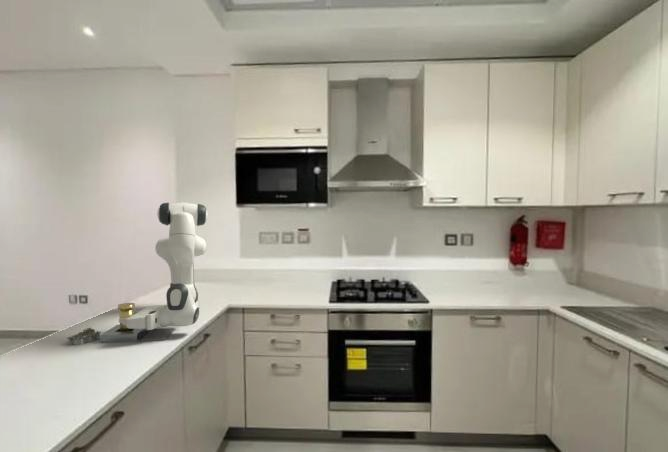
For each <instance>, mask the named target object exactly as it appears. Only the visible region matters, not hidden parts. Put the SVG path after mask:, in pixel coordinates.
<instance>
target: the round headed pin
mask: <svg viewBox="0 0 668 452" xmlns="http://www.w3.org/2000/svg"><path fill="white" fill-rule="evenodd" d="M135 305H136V304H135V302H124V303H123V302H122V303H120V304H118V305H117V309H118V310H119V319H120V318H129V317H131V316H133V312H134V308H135V307H136V306H135ZM119 325H120V332H126V331H133V330H134V329H129V328H126V323H119Z"/></svg>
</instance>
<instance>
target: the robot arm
mask: <svg viewBox="0 0 668 452" xmlns="http://www.w3.org/2000/svg"><path fill="white" fill-rule="evenodd" d="M156 214H157V215H156V216H157V218H158V220H159V223H161V225H165V226H169V230H168V237H164V238H161V239H160V238H159V239H158V240H157V242H156V243H155V249H154V250H155V252H156V255H158V257H160V258H161V259H162V260H164V261H165V262H166V263H167V265H168V267H169V270H170V285H169V288H168V289H167V290H166V305H155V306H149V307H147V306H146V307H144V308H142V309H141V310H137V311H133V316H131V317H129V318H120V317H119V319H118V322H119V324H120V323H126V328H129V329H145V328H147V330H151V331H152V330H154V329H160V328H168V327H174V328H177V327H178V328H179V327H189V326H192V325H194V324H195V323H196V322H197V321H198V319H199V315H200V308H201V306H202V300H201V299H199V293H198V290H197V288H196V286H195V266H194V265H195V264H194V261H195V260H194V259H195V258H196V257H199V256H202V255H204V254H205V253H206V251H207V247H208V246H207V245H208V244H207V243H206V241H205V239H204V238H203V237H200V236H199V235H197V233H196V226H197V227H199V226H204V225H205V224H206V222H207V221H208V218H209V217H208V216H209V214H208V210H207V207H206V206H205V205H203V204H201V203H191V202H185V201H181V202H163V203H161V204H160V205H159V207H158V209H157V213H156Z"/></svg>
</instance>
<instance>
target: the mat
mask: <svg viewBox="0 0 668 452" xmlns="http://www.w3.org/2000/svg"><path fill="white" fill-rule="evenodd" d="M174 331H176V327H174V328H172V327H171V328H155V329H152V330H151V331H149V332H148V333H147V334H146V335H144V336H143V337H142V338H141V339H140V342H152V341H155V342H156V341H165V340H167V338H168V337H169V336H170V335H171V334H173V333H174Z"/></svg>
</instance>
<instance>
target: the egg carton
mask: <svg viewBox="0 0 668 452" xmlns="http://www.w3.org/2000/svg"><path fill="white" fill-rule="evenodd" d="M100 335H101V330H100V331H98V330H95V329H94V328H91V327H87V328H85V329H83V330H82V331H80V332H78V333H76V334H73V335H71V336H68V337H66V339H67V340H68V342H67V343H68V345H74V346H80V345H81V346H82V345H84V343H89V342H90V343H91V342H92V341H93V340H99V339H100Z"/></svg>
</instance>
